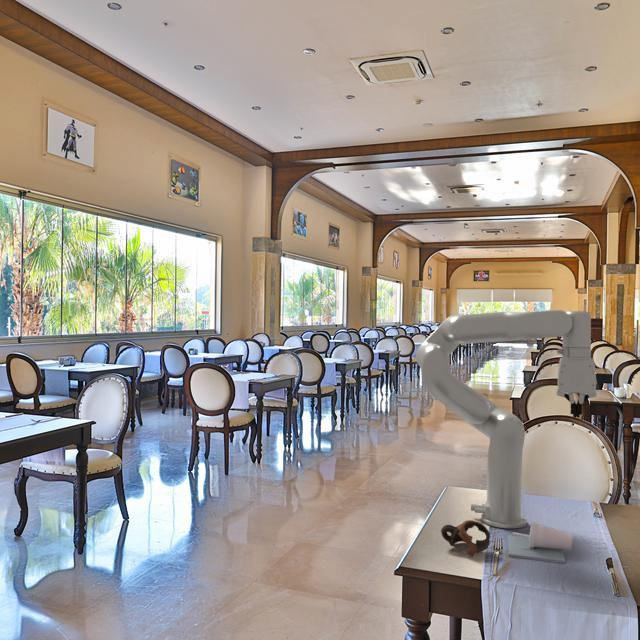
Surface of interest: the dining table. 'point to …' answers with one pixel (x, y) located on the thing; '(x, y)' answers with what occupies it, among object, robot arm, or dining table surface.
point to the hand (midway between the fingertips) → (576, 416)
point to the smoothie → (547, 537)
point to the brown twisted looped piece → (466, 536)
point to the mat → (532, 550)
